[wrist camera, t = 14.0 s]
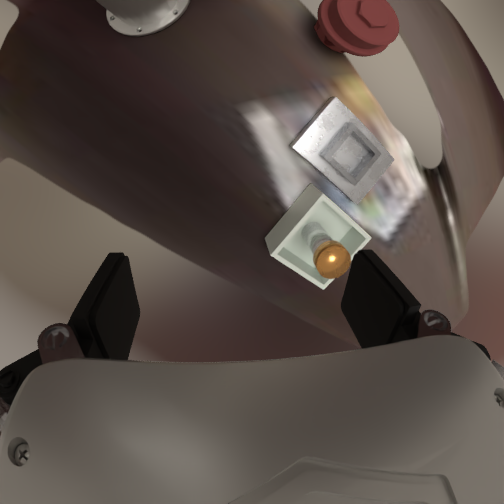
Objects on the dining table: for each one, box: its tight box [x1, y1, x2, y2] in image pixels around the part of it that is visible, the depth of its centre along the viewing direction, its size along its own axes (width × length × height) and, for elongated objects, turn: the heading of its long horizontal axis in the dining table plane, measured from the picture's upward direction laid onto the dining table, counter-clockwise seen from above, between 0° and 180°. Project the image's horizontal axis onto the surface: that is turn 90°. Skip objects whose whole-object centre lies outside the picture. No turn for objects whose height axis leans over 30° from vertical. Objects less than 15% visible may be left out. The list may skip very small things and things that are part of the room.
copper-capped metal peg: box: [302, 222, 351, 279], centre depth 39 cm, size 5×5×10 cm
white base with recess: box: [289, 97, 394, 205], centre depth 37 cm, size 14×10×4 cm
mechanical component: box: [314, 0, 399, 56], centre depth 24 cm, size 12×10×10 cm
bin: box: [265, 183, 371, 290], centre depth 42 cm, size 11×11×6 cm
